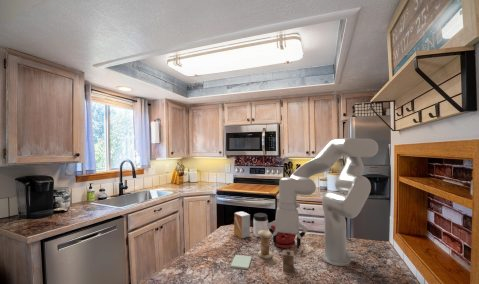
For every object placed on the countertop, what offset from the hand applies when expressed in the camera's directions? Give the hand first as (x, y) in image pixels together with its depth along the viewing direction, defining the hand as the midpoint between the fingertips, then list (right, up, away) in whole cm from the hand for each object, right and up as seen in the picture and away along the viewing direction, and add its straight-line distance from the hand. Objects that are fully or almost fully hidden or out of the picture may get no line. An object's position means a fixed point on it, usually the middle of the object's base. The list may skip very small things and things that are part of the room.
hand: (286, 245), depth 96 cm
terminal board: (-20, -10, +5) cm, 23 cm away
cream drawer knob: (-8, -11, +12) cm, 18 cm away
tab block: (+1, -10, 0) cm, 10 cm away
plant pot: (+4, -11, +24) cm, 27 cm away
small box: (-19, -11, +37) cm, 43 cm away
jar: (-8, -11, +38) cm, 40 cm away
